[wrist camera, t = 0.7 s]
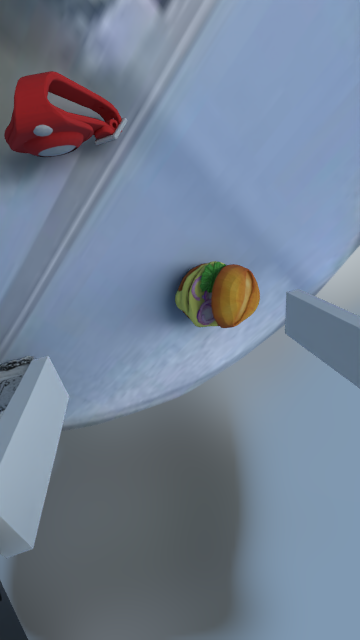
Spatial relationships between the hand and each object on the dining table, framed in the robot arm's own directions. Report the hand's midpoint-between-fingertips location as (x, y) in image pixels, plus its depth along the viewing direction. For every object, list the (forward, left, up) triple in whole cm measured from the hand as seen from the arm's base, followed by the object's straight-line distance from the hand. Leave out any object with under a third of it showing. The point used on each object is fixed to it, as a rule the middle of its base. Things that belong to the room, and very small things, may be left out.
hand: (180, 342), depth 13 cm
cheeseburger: (+10, +5, -25) cm, 27 cm away
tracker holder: (-16, +1, -25) cm, 30 cm away
